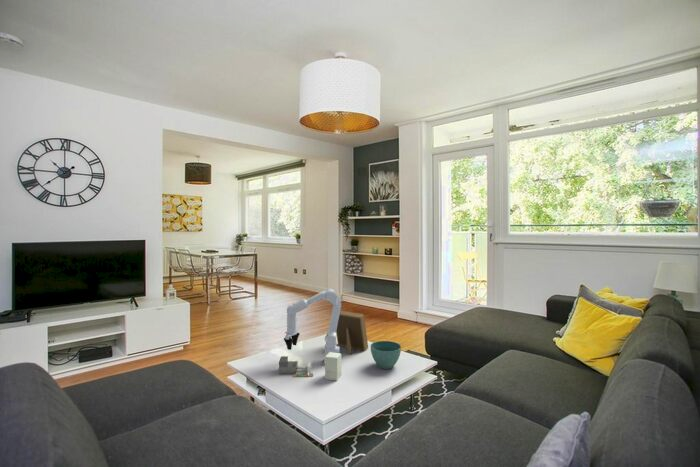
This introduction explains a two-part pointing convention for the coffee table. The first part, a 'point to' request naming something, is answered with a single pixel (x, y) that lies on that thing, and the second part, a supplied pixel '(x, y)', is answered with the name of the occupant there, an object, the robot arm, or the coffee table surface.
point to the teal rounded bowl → (385, 353)
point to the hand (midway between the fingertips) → (292, 347)
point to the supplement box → (333, 366)
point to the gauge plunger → (306, 367)
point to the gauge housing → (287, 366)
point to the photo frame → (352, 331)
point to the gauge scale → (303, 375)
